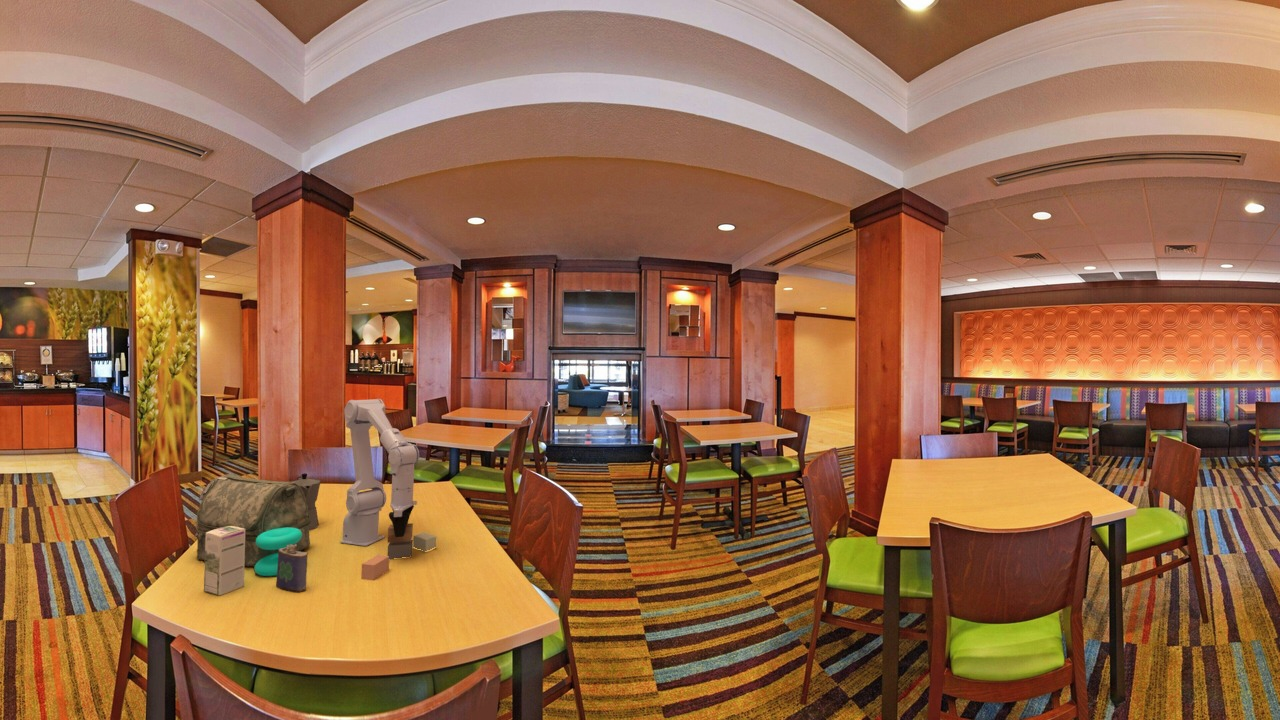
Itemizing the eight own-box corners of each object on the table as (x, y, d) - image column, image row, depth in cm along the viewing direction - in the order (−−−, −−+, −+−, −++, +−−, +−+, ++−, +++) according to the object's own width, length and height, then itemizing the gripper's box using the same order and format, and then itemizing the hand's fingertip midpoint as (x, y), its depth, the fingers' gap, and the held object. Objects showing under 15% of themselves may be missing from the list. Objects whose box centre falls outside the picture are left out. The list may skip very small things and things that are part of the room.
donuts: (285, 523, 136) (311, 529, 132) (284, 559, 136) (309, 565, 132) (246, 535, 126) (272, 541, 123) (244, 573, 126) (271, 580, 123)
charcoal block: (387, 560, 138) (387, 546, 138) (389, 555, 142) (390, 541, 142) (410, 558, 140) (410, 544, 140) (412, 553, 143) (412, 540, 143)
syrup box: (245, 586, 120) (247, 527, 120) (217, 596, 114) (220, 535, 114) (229, 582, 121) (232, 524, 122) (201, 592, 116) (204, 531, 116)
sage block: (435, 549, 147) (436, 536, 147) (425, 553, 144) (426, 539, 144) (423, 545, 150) (423, 532, 150) (413, 548, 147) (413, 535, 147)
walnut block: (387, 542, 138) (388, 528, 138) (389, 538, 142) (390, 524, 142) (410, 541, 140) (411, 527, 140) (412, 536, 143) (412, 523, 143)
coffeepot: (323, 530, 159) (325, 475, 159) (288, 536, 152) (290, 479, 152) (313, 518, 170) (315, 466, 170) (280, 523, 163) (282, 470, 163)
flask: (308, 589, 119) (310, 545, 119) (296, 594, 117) (298, 549, 117) (284, 581, 123) (285, 539, 123) (271, 586, 120) (273, 543, 120)
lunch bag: (180, 560, 132) (184, 480, 133) (247, 537, 150) (250, 467, 150) (257, 573, 127) (261, 489, 127) (317, 547, 145) (320, 474, 145)
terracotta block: (373, 580, 125) (374, 565, 125) (361, 579, 126) (361, 563, 126) (388, 570, 131) (389, 556, 131) (376, 569, 132) (377, 554, 132)
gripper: (414, 493, 135) (412, 542, 135) (420, 480, 149) (418, 524, 149) (386, 494, 133) (384, 544, 133) (395, 481, 147) (393, 526, 147)
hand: (400, 534), depth 141 cm, fingers closed on walnut block, 3 cm apart
